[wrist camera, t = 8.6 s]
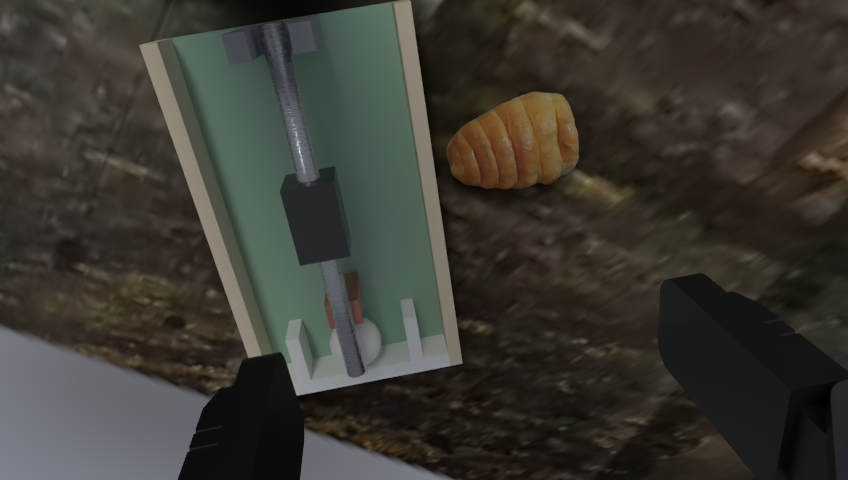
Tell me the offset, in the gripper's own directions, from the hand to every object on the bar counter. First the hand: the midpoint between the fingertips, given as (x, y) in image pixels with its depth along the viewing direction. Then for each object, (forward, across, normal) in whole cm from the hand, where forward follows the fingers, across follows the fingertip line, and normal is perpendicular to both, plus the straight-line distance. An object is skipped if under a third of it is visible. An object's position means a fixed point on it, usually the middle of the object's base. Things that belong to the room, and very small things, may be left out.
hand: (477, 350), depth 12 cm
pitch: (+30, +6, +8) cm, 32 cm away
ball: (+27, +6, +18) cm, 33 cm away
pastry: (+31, -9, +5) cm, 32 cm away
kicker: (+29, +6, +6) cm, 30 cm away
